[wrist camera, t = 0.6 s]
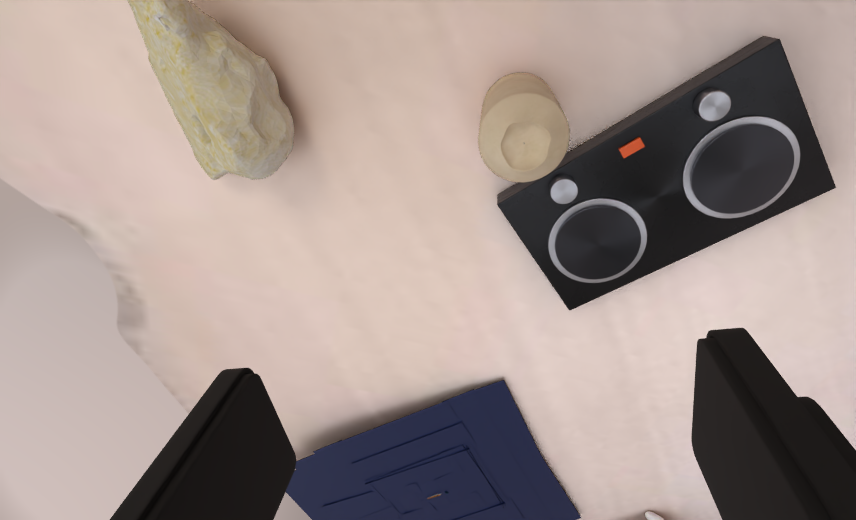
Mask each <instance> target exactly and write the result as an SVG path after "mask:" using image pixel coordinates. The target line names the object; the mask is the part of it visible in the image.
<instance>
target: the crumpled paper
mask: <svg viewBox="0 0 856 520" xmlns="http://www.w3.org/2000/svg"><path fill="white" fill-rule="evenodd" d="M645 516H646V519H647V520H664V519H663V518H662V517H660V516H659V515H657V514H655V513H653V512H650V511H648V512H646V513H645Z"/></svg>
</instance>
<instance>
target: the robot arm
mask: <svg viewBox="0 0 856 520" xmlns="http://www.w3.org/2000/svg"><path fill="white" fill-rule="evenodd" d="M692 446H693V451H694V454H695V457H696V460H697V462H698V464H699V467H700V469H701V471H702V474H703V476H704V478H705V480H706V483H707V485H708V487H709V490H710V492H711V494H712V497H713V499H714V501H715V503H716V506H717V508H718V510H719V513H720V515H721V517H722V520H856V450H855V449H854V448H853V447H852V445H851V444H850V443H849V442H848V440H847V439H846V438H845V437H844V435H843V434H842V433H841V432H840V430H839V429H838V428H837V427H836V425H835V424H834V423H833V421H832V420H831V419H830V418H829V416H828V415H827V414H826V413H825V411H824V410H823V409H822V408H821V407H820V406H819V405H818V404H817V403H816V402H815V401H814V400H813V399H811V398H809V397H797V396H796V395H795V393H794V392H793V391H792V389H791V388H790V387H789V385H788V384H787V383H786V382H785V380H784V379H783V378H782V376H781V375H780V374H779V372H778V371H777V370H776V368H775V367H774V366H773V364H772V363H771V362H770V360H769V359H768V358H767V357H766V355H765V354H764V353H763V351H762V350H761V349H760V347H759V346H758V345H757V343H756V342H755V341H754V339H753V338H752V337H751V335H750V334H749V333H748V332H747V331H746V330H745V329H744V328H733V329H721V330H710V331H709V332H708V334H707V338H704V339H699V340H698V342H697V353H696V371H695V388H694V405H693V422H692ZM295 467H296V455H295V452H294V450H293V448H292V446H291V444H290V441H289V439H288V437H287V435H286V433H285V430H284V428H283V426H282V424H281V422H280V419H279V417H278V415H277V413H276V411H275V408H274V406H273V404H272V402H271V400H270V397H269V395H268V393H267V391H266V389H265V386H264V384H263V382H262V380H261V378H260V376H259V375H258V374H254V372H253V371H252V370H251V369H250V368H238V369H226V370H223V371H222V372H221V373H220V374H219V375H218V376H217V377H216V379H215V380H214V381H213V383H212V384H211V385H210V387H209V388H208V389H207V391H206V392H205V393H204V395H203V396H202V397H201V399H200V400H199V401H198V403H197V404H196V405H195V407H194V408H193V409H192V411H191V412H190V413H189V415H188V416H187V417H186V419H185V420H184V421H183V423H182V424H181V426H180V427H179V428H178V430H177V431H176V432H175V433H174V435H173V436H172V437H171V439H170V440H169V442H168V443H167V444H166V446H165V447H164V448H163V449H162V451H161V452H160V453H159V455H158V456H157V458H156V459H155V460H154V461H153V463H152V464H151V465H150V467H149V468H148V470H147V471H146V472H145V473H144V475H143V476H142V477H141V479H140V480H139V481H138V483H137V484H136V485H135V487H134V488H133V489H132V491H131V492H130V493H129V495H128V496H127V497H126V499H125V500H124V501H123V503H122V504H121V505H120V507H119V508H118V509H117V511H116V512H115V513H114V515H113V516H112V517H111V519H110V520H273V519H274V517H275V514H276V512H277V510H278V508H279V505H280V503H281V501H282V498H283V496H284V494H285V491H286V489H287V487H288V485H289V482H290V480H291V478H292V475H293V473H294V470H295Z"/></svg>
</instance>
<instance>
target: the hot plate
mask: <svg viewBox="0 0 856 520" xmlns="http://www.w3.org/2000/svg"><path fill="white" fill-rule="evenodd" d="M834 188H836V186H835V184H834V181H833V178H832V176H831V173H830V171H829V168H828V165H827V163H826V160H825V157H824V155H823V152H822V149H821V147H820V144H819V142H818V139H817V136H816V134H815V131H814V128H813V126H812V123H811V120H810V118H809V115H808V112H807V110H806V107H805V105H804V102H803V99H802V97H801V94H800V91H799V89H798V86H797V83H796V81H795V78H794V75H793V73H792V70H791V68H790V65H789V62H788V60H787V57H786V54H785V52H784V49H783V46H782V44H781V41H780V39H777V38H771V37H766V36H763V37H761V38H759V39H758V40H756V41H754V42H753V43H751V44H749V45H748V46H746V47H744V48H743V49H741V50H739V51H738V52H736V53H734V54H733V55H731V56H729V57H728V58H726V59H724V60H723V61H721V62H719V63H718V64H716V65H714V66H712V67H711V68H709V69H707V70H706V71H704V72H702V73H701V74H699V75H697V76H696V77H694V78H692V79H691V80H689V81H687V82H686V83H684V84H682V85H681V86H679V87H677V88H676V89H674V90H672V91H671V92H669V93H667V94H666V95H664V96H662V97H661V98H659V99H657V100H655V101H654V102H652V103H650V104H649V105H647V106H645V107H644V108H642V109H640V110H639V111H637V112H635V113H634V114H632V115H630V116H629V117H627V118H625V119H624V120H622V121H620V122H619V123H617V124H615V125H614V126H612V127H610V128H609V129H607V130H605V131H604V132H602V133H600V134H598V135H597V136H595V137H593V138H592V139H590V140H588V141H587V142H585V143H583V144H582V145H580V146H578V147H577V148H575V149H573V150H572V151H570V152H568V153H567V154H565V156H564V158H563V159H562V161H561V162H560V164H559V165H558V166H557V167H556V168H555V169H554V170H553V171H552V172H550V173H549V174H547V175H546V176H544V177H542V178H540V179H537V180H534V181H530V182H518V183H516V184H515V185H513V186H511V187H510V188H508V189H506V190H505V191H503V192H501V193H500V194H498V195H497V205H498V207H499V208H500V210H501V211H502V212H503V214H504V215H505V217H506V218H507V220H508V221H509V223H510V224H511V226H512V227H513V229H514V230H515V231H516V233H517V234H518V236H519V237H520V239H521V240H522V242H523V243H524V245H525V246H526V248H527V249H528V251H529V252H530V253H531V255H532V256H533V258H534V259H535V261H536V262H537V264H538V265H539V267H540V268H541V270H542V271H543V272H544V274H545V275H546V277H547V278H548V280H549V281H550V283H551V284H552V286H553V287H554V289H555V290H556V292H557V293H558V294H559V296H560V297H561V299H562V300H563V302H564V303H565V305H566V306H567V308H568V309H569V310H572V309H574V308H576V307H578V306H581V305H583V304H585V303H587V302H589V301H591V300H594V299H596V298H598V297H600V296H602V295H604V294H607V293H609V292H611V291H613V290H615V289H617V288H620V287H622V286H624V285H626V284H628V283H630V282H633V281H635V280H637V279H639V278H641V277H643V276H646V275H648V274H650V273H652V272H654V271H656V270H659V269H661V268H663V267H665V266H667V265H669V264H672V263H674V262H676V261H678V260H680V259H682V258H685V257H687V256H689V255H691V254H693V253H695V252H698V251H700V250H702V249H704V248H706V247H708V246H711V245H713V244H715V243H717V242H719V241H721V240H724V239H726V238H728V237H730V236H732V235H734V234H737V233H739V232H741V231H743V230H745V229H747V228H750V227H752V226H754V225H756V224H758V223H760V222H763V221H765V220H767V219H769V218H771V217H773V216H776V215H778V214H780V213H782V212H784V211H786V210H789V209H791V208H793V207H795V206H797V205H799V204H802V203H804V202H806V201H808V200H810V199H812V198H815V197H817V196H819V195H821V194H823V193H825V192H828V191H830V190H832V189H834Z"/></svg>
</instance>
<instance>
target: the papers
mask: <svg viewBox="0 0 856 520" xmlns="http://www.w3.org/2000/svg"><path fill="white" fill-rule="evenodd" d="M314 453H315V454H314V455H311V456H309V457H306V458H304V459H301V460H299V461H296V467H295V469H296V470H295V471H294V473H293V475H292V478H291V480H290V482H289V485H288V487H287V489H286V491H285V492H286V493H287V494H288V495H289V496H290V497H291V498H292V499H293V500H294V501H295V502H296V503H297V504H298V505H299V506H300V507H301V508H302V509H303V510H304V512H305V513H307V515H308V516H309V517H310V518H311V519H312V520H576V519H579V518H581V517H580V515H579V514H578V512H577V510H576V509H575V507H574V506H573V504H572V503H571V501H570V500H569V498H568V497H567V495H566V493H565V492H564V490H563V489H562V487H561V486H560V484H559V483H558V481H557V479H556V478H555V476H554V475H553V473H552V472H551V470H550V469H549V467H548V466H547V464H546V462H545V461H544V459H543V458H542V456H541V454H540V452H539V450H538V448H537V446H536V444H535V442H534V440H533V438H532V436H531V434H530V432H529V430H528V428H527V426H526V424H525V422H524V420H523V418H522V416H521V414H520V412H519V410H518V408H517V406H516V404H515V402H514V400H513V398H512V396H511V394H510V392H509V390H508V388H507V386H506V384H505V382H504V380H502V381H499V382H496V383H493V384H491V385H488V386H485V387H482V388H479V389H476V390H474V389H473V390H471V391H468V392H466V393H463V394H461V395H458V396H456V397H453V398H450V399H448V400H445V401H443V402H442V403H439V404H437V405H434V406H431V407H429V408H426V409H424V410H421V411H418V412H416V413H413V414H411V415H408V416H405V417H403V418H400V419H397V420H395V421H392V422H390V423H387V424H384V425H382V426H379V427H377V428H374V429H371V430H369V431H366V432H363V433H361V434H358V435H356V436H353V437H350V438H348V439H345V440H343V441H342V440H341V441H338V442H336V443H333V444H331V445H328V446H326V447H324V448H321V449H319V450H316V451H314Z"/></svg>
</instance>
